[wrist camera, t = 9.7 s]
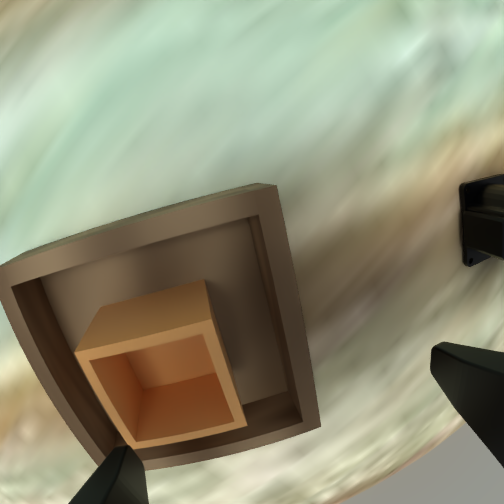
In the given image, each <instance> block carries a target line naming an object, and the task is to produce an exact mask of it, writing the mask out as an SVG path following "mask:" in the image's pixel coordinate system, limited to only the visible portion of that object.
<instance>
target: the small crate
mask: <svg viewBox="0 0 504 504" xmlns="http://www.w3.org/2000/svg"><path fill="white" fill-rule="evenodd" d="M74 353H75V355H76V357H77V359H78V361H79V363H80V365H81V367H82V369H83V371H84V373H85V375H86V377H87V379H88V380H89V382H90V384H91V386H92V388H93V389H94V391H95V393H96V395H97V396H98V398H99V400H100V402H101V403H102V405H103V407H104V408H105V410H106V412H107V413H108V415H109V417H110V418H111V420H112V421H113V423H114V425H115V426H116V428H117V429H118V431H119V432H120V434H121V435H122V437H123V438H124V440H125V441H126V443H127V444H128V445H130V446H131V447H132V448H133V449H140V448H147V447H153V446H159V445H165V444H171V443H176V442H181V441H186V440H191V439H196V438H200V437H205V436H209V435H213V434H218V433H222V432H226V431H230V430H234V429H237V428H241V427H245V426H248V425H247V422H246V418H245V415H244V411H243V408H242V404H241V400H240V397H239V393H238V389H237V386H236V382H235V378H234V374H233V371H232V368H231V364H230V361H229V358H228V355H227V352H226V349H225V346H224V343H223V340H222V336H221V333H220V330H219V327H218V323H217V320H216V317H215V314H214V310H213V307H212V304H211V300H210V297H209V294H208V290H207V287H206V283H205V280H204V279H202V280H199V281H195V282H191V283H188V284H184V285H180V286H176V287H173V288H169V289H165V290H162V291H158V292H154V293H151V294H147V295H143V296H139V297H136V298H132V299H128V300H124V301H121V302H117V303H113V304H109V305H106V306H102V307H100V308H99V310H98V312H97V313H96V315H95V317H94V318H93V320H92V322H91V323H90V325H89V327H88V329H87V330H86V332H85V334H84V336H83V337H82V339H81V341H80V343H79V344H78V346H77V348H76V350H75V352H74Z"/></svg>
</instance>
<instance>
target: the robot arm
mask: <svg viewBox="0 0 504 504" xmlns="http://www.w3.org/2000/svg"><path fill="white" fill-rule="evenodd" d="M460 193H461V205H462V220H463V246H464V264H465V265H466V266H468V267H471V266H473V265H476V264H478V263H480V262H482V261H484V260H486V259H488V258H490V257H495V258H498V259H500V260H503V261H504V174H499V175H495V176H491V177H486V178H482V179H478V180H474V181H470V182H466V183H463V184H462V185H461V187H460ZM430 371H431V374H432V375H433V377H434V378H435V380H436V381H437V383H438V384H439V386H440V387H441V389H442V390H443V392H444V393H445V395H446V396H447V398H448V399H449V401H450V402H451V404H452V405H453V406H454V408H455V409H456V410H457V412H458V413H459V414H460V415H461V416H462V418H463V419H464V420H465V421H466V422H467V424H468V425H469V426H470V427H471V428H472V430H473V431H474V432H475V433H476V434H477V436H478V437H479V438H480V439H481V440H482V442H483V443H484V444H485V445H486V446H487V447H488V449H489V450H490V451H491V453H492V454H493V455H494V456H495V457H496V459H497V460H498V461H499V463H500V464H501V465H502V466H503V468H504V352H498V351H492V350H487V349H481V348H476V347H470V346H465V345H460V344H454V343H449V342H441V343H439V344H437V345H435V346H434V347H433V348H432V350H431V362H430ZM68 504H149V501H148V493H147V486H146V477H145V468H144V465H143V463H142V461H141V459H140V458H139V457H138V455H137V454H136V453H135V451H134V450H133V448H132V447H131V446H130V445H119V446H115V447H114V448H113V450H112V451H111V452H110V453H109V454H108V456H107V457H106V458H105V459H104V461H103V462H102V463H101V464H100V466H99V467H98V468H97V469H96V470H95V472H94V473H93V474H92V475H91V477H90V478H89V479H88V480H87V481H86V483H85V484H84V485H83V486H82V488H81V489H80V490H79V491H78V492H77V494H76V495H75V496H74V497H73V499H72V500H71V501H70V502H69V503H68Z"/></svg>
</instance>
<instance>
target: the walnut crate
mask: <svg viewBox="0 0 504 504" xmlns="http://www.w3.org/2000/svg"><path fill="white" fill-rule="evenodd" d="M202 279H204V280H205V283H206V287H207V290H208V294H209V297H210V300H211V304H212V307H213V310H214V314H215V317H216V320H217V323H218V327H219V330H220V333H221V336H222V340H223V343H224V346H225V349H226V352H227V355H228V358H229V361H230V364H231V368H232V371H233V374H234V378H235V382H236V386H237V389H238V393H239V397H240V400H241V404H242V408H243V411H244V415H245V418H246V422H247V425H248V426H245V427H241V428H237V429H234V430H230V431H226V432H222V433H218V434H213V435H209V436H205V437H200V438H196V439H191V440H186V441H181V442H176V443H171V444H165V445H159V446H153V447H147V448H140V449H133V450H134V451H135V453H136V454H137V455H138V457H139V458H140V459H141V461H142V463H143V465H144V468H145V471H146V470H154V469H161V468H167V467H173V466H179V465H185V464H190V463H195V462H200V461H205V460H210V459H214V458H219V457H223V456H227V455H231V454H235V453H239V452H243V451H247V450H251V449H254V448H258V447H261V446H265V445H268V444H271V443H275V442H278V441H281V440H284V439H287V438H290V437H293V436H296V435H299V434H302V433H305V432H308V431H311V430H313V429H316V428H319V427H321V422H320V416H319V409H318V403H317V396H316V390H315V384H314V378H313V372H312V366H311V360H310V354H309V348H308V343H307V337H306V331H305V326H304V320H303V315H302V309H301V304H300V299H299V293H298V288H297V283H296V278H295V273H294V268H293V262H292V257H291V252H290V247H289V243H288V238H287V233H286V228H285V223H284V218H283V214H282V209H281V204H280V200H279V195H278V190H277V186H276V185H270V184H261V183H254V184H250V185H246V186H242V187H238V188H234V189H230V190H226V191H222V192H218V193H214V194H210V195H206V196H203V197H199V198H195V199H191V200H188V201H184V202H180V203H177V204H173V205H169V206H166V207H162V208H159V209H155V210H152V211H148V212H145V213H142V214H138V215H135V216H132V217H128V218H125V219H122V220H118V221H115V222H112V223H109V224H106V225H102V226H99V227H96V228H93V229H90V230H87V231H84V232H81V233H78V234H75V235H72V236H69V237H66V238H63V239H60V240H57V241H54V242H51V243H49V244H46V245H43V246H40V247H37V248H34V249H32V250H29V251H26V252H24V253H22V254H20V255H18V256H16V257H14V258H13V259H11V260H9V261H7V262H6V263H4V264H2V265H0V301H1V303H2V305H3V308H4V310H5V313H6V315H7V317H8V320H9V322H10V324H11V326H12V329H13V331H14V333H15V335H16V337H17V339H18V341H19V343H20V345H21V347H22V349H23V351H24V353H25V355H26V357H27V359H28V361H29V363H30V365H31V367H32V368H33V370H34V372H35V374H36V376H37V377H38V379H39V381H40V383H41V384H42V386H43V388H44V389H45V391H46V393H47V394H48V396H49V398H50V399H51V401H52V403H53V404H54V406H55V407H56V409H57V410H58V412H59V413H60V415H61V416H62V418H63V419H64V421H65V422H66V424H67V425H68V427H69V428H70V430H71V431H72V432H73V434H74V435H75V437H76V438H77V439H78V441H79V442H80V443H81V445H82V446H83V447H84V449H85V450H86V451H87V453H88V454H89V455H90V457H91V458H92V459H93V460H94V462H95V463H96V464H97V465H98V467H99V466H100V464H101V463H102V462H103V461H104V459H105V458H106V457H107V456H108V454H109V453H110V452H111V451H112V450H113V448H114V447H115V446H119V445H128V444H127V443H126V441H125V440H124V438H123V437H122V435H121V434H120V432H119V431H118V429H117V428H116V426H115V425H114V423H113V421H112V420H111V418H110V417H109V415H108V413H107V412H106V410H105V408H104V407H103V405H102V403H101V402H100V400H99V398H98V396H97V395H96V393H95V391H94V389H93V388H92V386H91V384H90V382H89V380H88V379H87V377H86V375H85V373H84V371H83V369H82V367H81V365H80V363H79V361H78V359H77V357H76V355H75V353H74V352H75V350H76V348H77V346H78V344H79V343H80V341H81V339H82V337H83V336H84V334H85V332H86V330H87V329H88V327H89V325H90V323H91V322H92V320H93V318H94V317H95V315H96V313H97V312H98V310H99V308H100V307H102V306H106V305H109V304H113V303H117V302H121V301H124V300H128V299H132V298H136V297H139V296H143V295H147V294H151V293H154V292H158V291H162V290H165V289H169V288H173V287H176V286H180V285H184V284H188V283H191V282H195V281H199V280H202Z"/></svg>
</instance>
